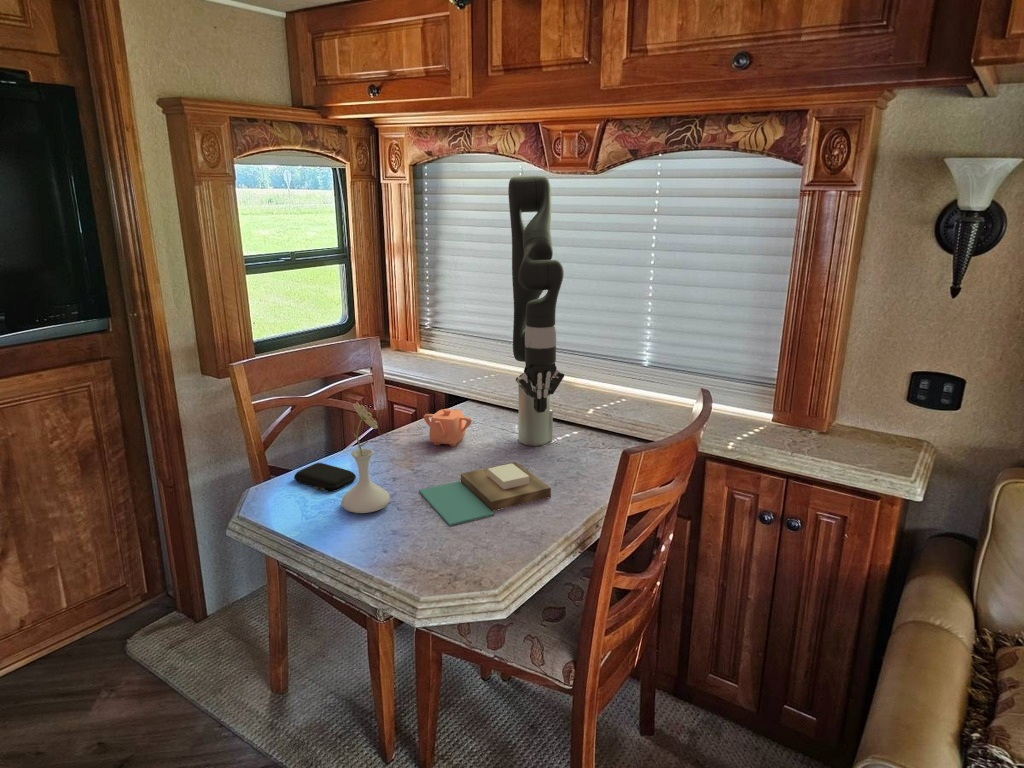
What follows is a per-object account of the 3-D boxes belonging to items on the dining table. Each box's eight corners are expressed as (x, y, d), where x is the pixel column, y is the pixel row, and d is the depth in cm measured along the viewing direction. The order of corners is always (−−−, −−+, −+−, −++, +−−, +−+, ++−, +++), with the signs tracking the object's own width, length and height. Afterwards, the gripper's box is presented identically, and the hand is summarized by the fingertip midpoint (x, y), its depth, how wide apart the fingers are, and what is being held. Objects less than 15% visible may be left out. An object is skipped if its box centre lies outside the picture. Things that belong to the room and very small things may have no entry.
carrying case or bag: (287, 484, 175) (329, 497, 167) (286, 473, 174) (328, 486, 166) (319, 470, 183) (359, 481, 176) (318, 459, 183) (358, 470, 175)
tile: (512, 470, 175) (512, 463, 175) (529, 483, 168) (529, 476, 167) (487, 475, 172) (487, 468, 172) (503, 489, 164) (503, 481, 164)
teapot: (421, 437, 206) (420, 405, 203) (458, 431, 210) (457, 400, 207) (436, 453, 193) (435, 420, 190) (475, 447, 198) (474, 414, 195)
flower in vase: (393, 514, 158) (387, 411, 151) (342, 521, 155) (334, 417, 148) (386, 490, 170) (380, 395, 163) (339, 496, 167) (331, 399, 160)
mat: (459, 482, 174) (459, 481, 174) (494, 515, 157) (494, 513, 157) (418, 491, 169) (418, 489, 169) (449, 526, 152) (449, 524, 152)
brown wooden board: (516, 470, 181) (516, 461, 181) (550, 497, 166) (550, 487, 165) (460, 482, 174) (460, 473, 174) (491, 511, 159) (491, 501, 158)
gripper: (556, 337, 170) (555, 403, 175) (508, 343, 165) (509, 411, 169) (572, 343, 164) (570, 411, 169) (523, 349, 158) (523, 420, 163)
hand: (540, 411), depth 169 cm, fingers closed
